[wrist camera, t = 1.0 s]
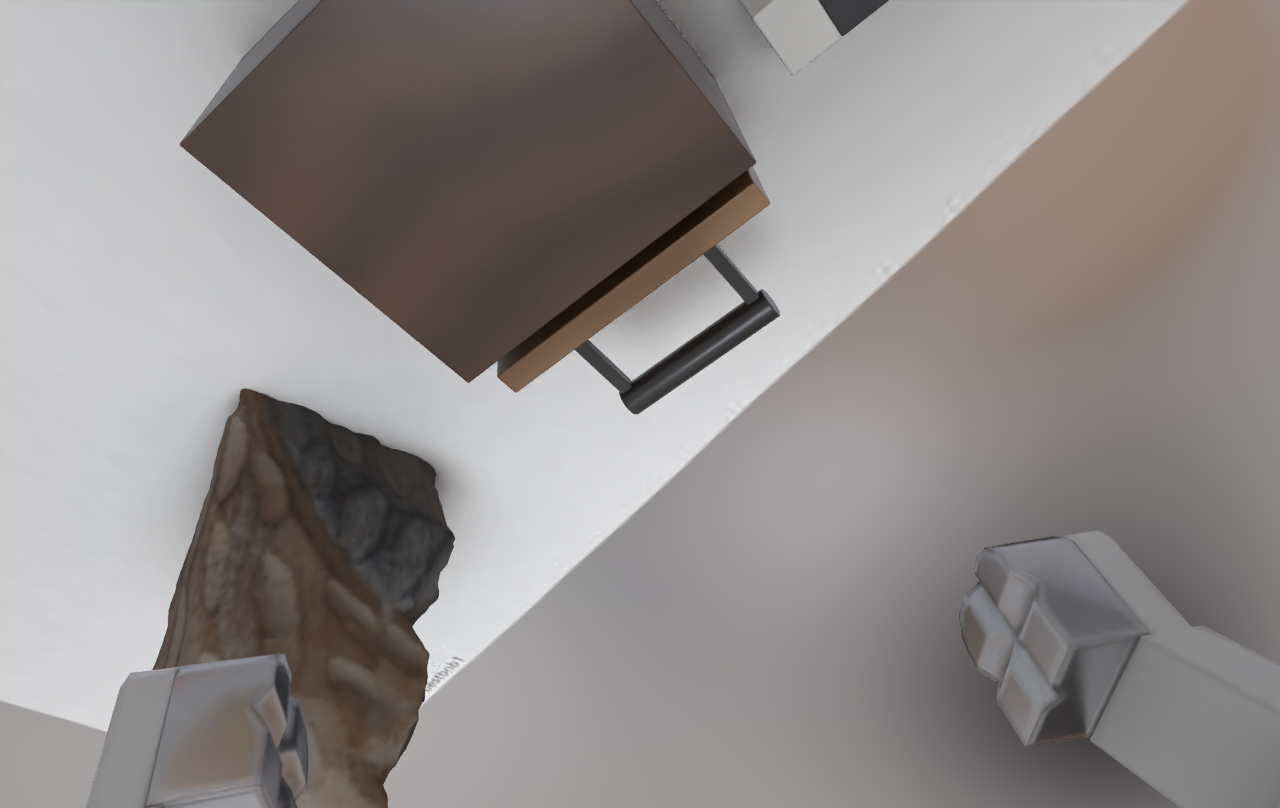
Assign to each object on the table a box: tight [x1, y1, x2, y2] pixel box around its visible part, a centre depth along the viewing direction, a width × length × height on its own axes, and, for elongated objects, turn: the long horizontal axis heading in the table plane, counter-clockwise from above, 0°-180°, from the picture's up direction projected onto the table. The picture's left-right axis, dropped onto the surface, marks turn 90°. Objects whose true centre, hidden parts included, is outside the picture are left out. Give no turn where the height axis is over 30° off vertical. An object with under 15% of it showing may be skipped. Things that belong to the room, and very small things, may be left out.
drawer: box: [497, 166, 780, 414], centre depth 39 cm, size 18×13×7 cm
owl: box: [153, 389, 455, 808], centre depth 46 cm, size 13×13×20 cm
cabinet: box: [180, 0, 756, 383], centre depth 36 cm, size 14×15×9 cm
